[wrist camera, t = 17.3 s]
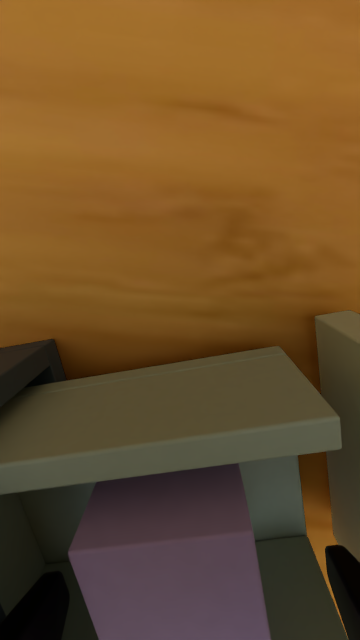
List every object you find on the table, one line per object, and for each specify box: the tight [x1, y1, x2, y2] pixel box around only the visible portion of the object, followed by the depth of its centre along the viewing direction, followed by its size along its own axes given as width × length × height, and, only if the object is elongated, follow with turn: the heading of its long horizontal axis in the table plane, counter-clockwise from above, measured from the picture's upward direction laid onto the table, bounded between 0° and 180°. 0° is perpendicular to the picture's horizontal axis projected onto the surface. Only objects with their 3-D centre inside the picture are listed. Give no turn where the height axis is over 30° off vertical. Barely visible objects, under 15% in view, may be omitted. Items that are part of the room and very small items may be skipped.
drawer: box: [0, 310, 360, 640], centre depth 9 cm, size 18×9×5 cm, turn 101°
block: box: [68, 463, 271, 640], centre depth 9 cm, size 4×4×4 cm
